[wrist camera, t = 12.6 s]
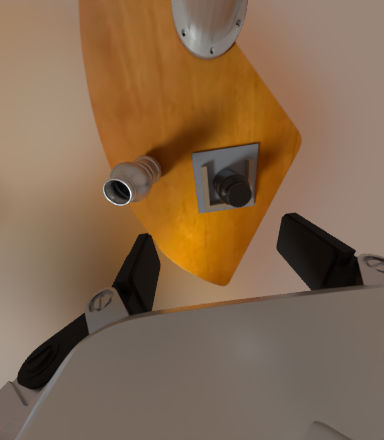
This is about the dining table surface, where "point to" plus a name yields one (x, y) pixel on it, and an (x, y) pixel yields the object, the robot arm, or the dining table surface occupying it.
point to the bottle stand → (216, 161)
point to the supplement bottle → (232, 188)
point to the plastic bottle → (132, 180)
